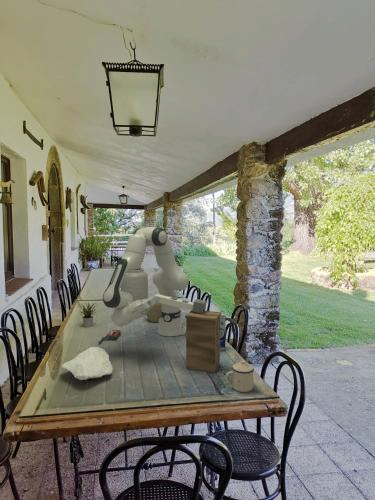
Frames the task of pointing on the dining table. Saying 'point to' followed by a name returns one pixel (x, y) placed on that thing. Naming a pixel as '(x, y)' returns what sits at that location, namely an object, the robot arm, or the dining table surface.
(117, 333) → the walkie-talkie
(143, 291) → the vase
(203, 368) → the stand
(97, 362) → the crumpled cloth
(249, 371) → the teacup with lid
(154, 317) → the planter bowl
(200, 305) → the power strip
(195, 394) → the dining table surface
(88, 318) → the house plant
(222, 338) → the milk carton
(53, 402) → the dining table surface
